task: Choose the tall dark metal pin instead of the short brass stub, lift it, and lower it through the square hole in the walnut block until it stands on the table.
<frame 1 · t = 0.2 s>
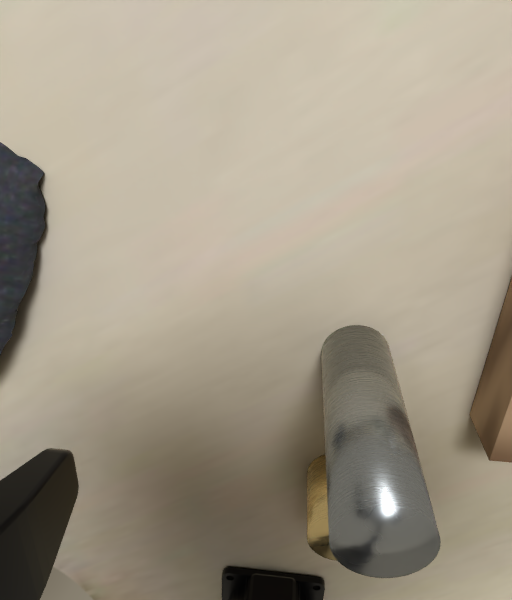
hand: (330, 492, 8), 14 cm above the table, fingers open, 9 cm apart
short pin: (336, 474, 27), on the table
tall pin: (355, 354, 23), on the table
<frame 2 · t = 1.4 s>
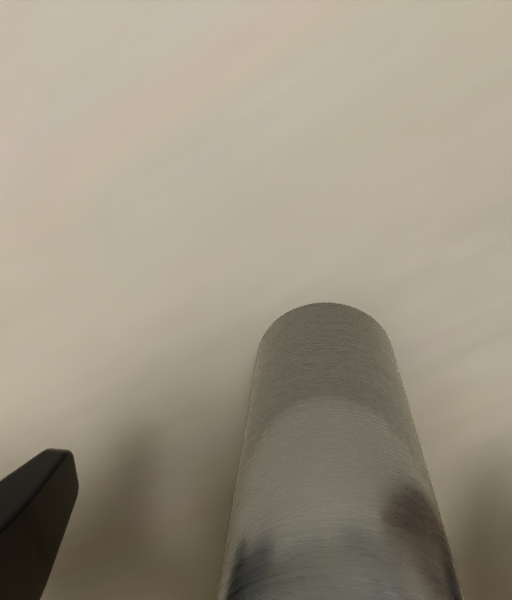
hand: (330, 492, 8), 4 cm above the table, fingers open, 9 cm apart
tall pin: (324, 362, 12), on the table
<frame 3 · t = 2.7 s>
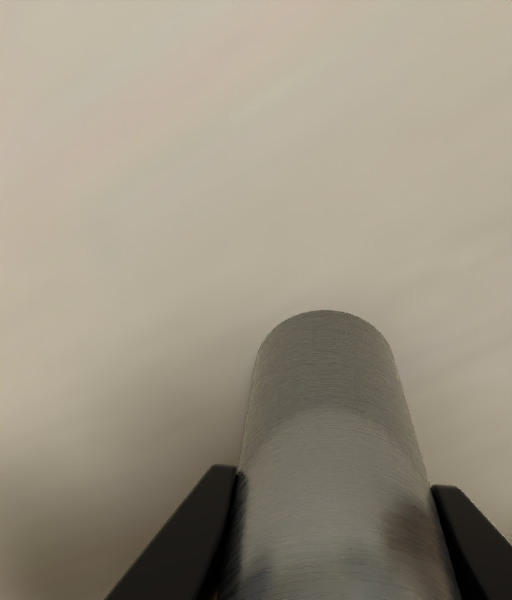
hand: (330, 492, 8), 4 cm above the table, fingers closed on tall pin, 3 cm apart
tall pin: (324, 371, 11), on the table, touching gripper
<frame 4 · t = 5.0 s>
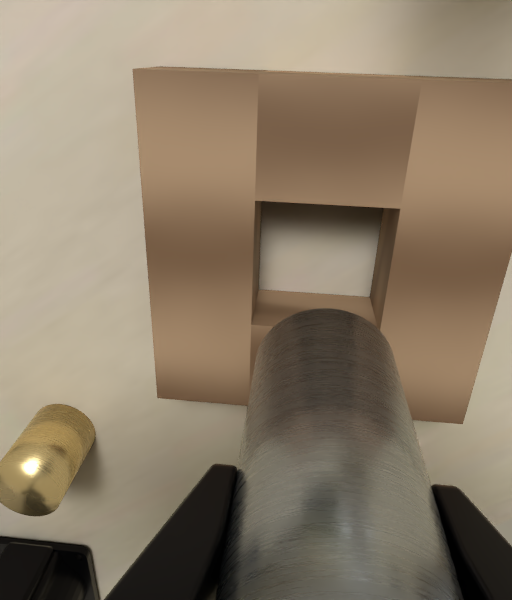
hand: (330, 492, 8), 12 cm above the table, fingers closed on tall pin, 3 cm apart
hole block: (318, 240, 19), on the table
short pin: (65, 428, 25), on the table
tall pin: (323, 369, 11), point 9 cm above the table, touching gripper
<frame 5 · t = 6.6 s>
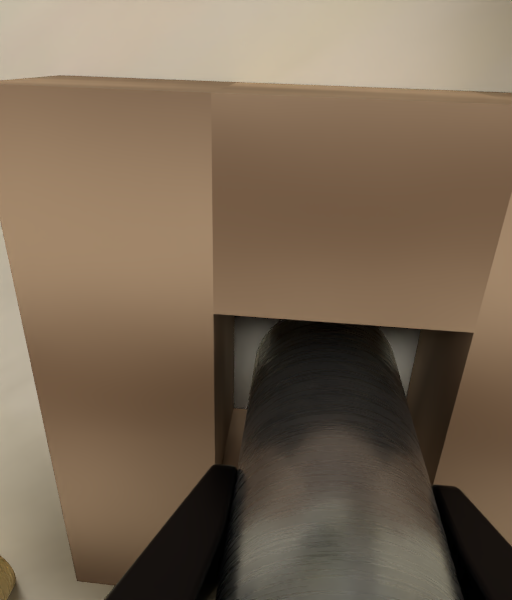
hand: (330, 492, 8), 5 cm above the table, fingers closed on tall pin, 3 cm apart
hole block: (324, 344, 12), on the table
tall pin: (323, 369, 11), point 1 cm above the table, touching gripper
when the fingers open (4 cm above the table, at t = 7.6 s): tall pin stays where it is, resting in hole block.
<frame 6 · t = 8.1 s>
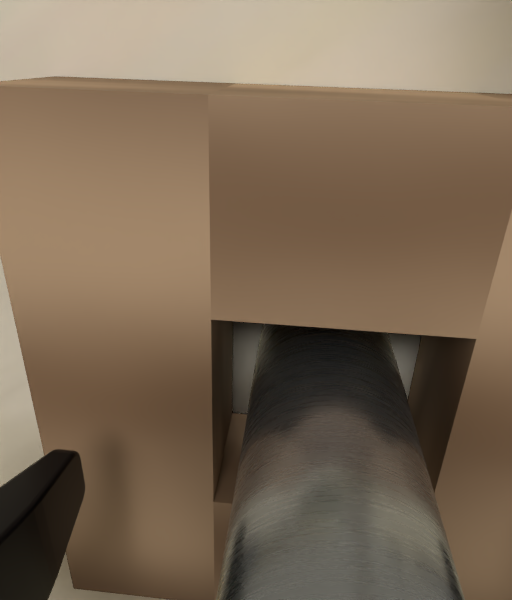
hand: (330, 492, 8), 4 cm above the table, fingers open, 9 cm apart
hole block: (323, 348, 12), on the table
tall pin: (323, 346, 12), resting in hole block
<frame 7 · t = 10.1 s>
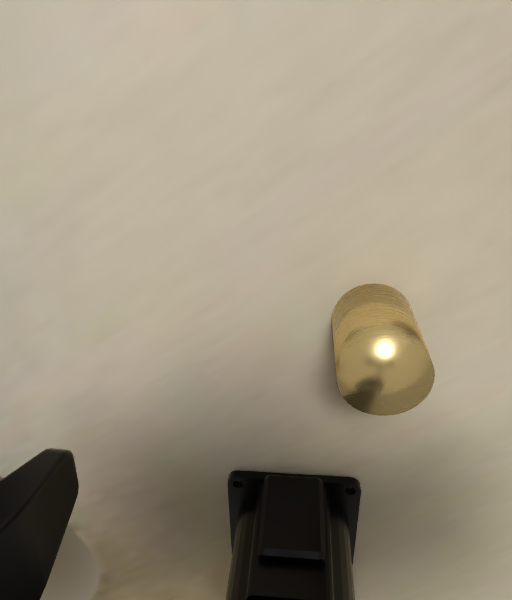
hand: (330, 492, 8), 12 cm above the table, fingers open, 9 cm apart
short pin: (371, 319, 20), on the table
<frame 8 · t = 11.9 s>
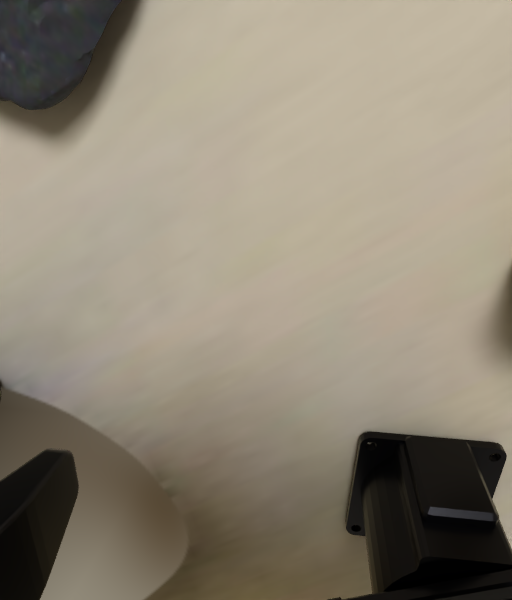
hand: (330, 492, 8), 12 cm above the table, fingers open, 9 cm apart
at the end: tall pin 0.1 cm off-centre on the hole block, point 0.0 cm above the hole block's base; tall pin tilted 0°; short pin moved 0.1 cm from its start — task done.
